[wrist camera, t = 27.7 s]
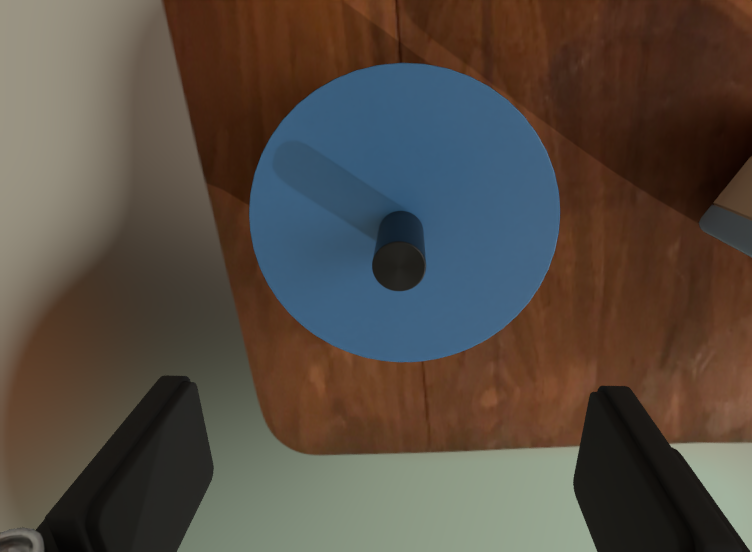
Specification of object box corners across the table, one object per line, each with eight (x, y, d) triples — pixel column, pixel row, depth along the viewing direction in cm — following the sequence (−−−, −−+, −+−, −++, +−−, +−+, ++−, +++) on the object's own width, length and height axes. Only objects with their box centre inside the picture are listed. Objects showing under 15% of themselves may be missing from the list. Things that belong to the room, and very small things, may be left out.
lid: (271, 350, 30) (240, 413, 24) (235, 67, 24) (181, 65, 18) (535, 355, 29) (565, 422, 23) (575, 59, 22) (630, 54, 17)
